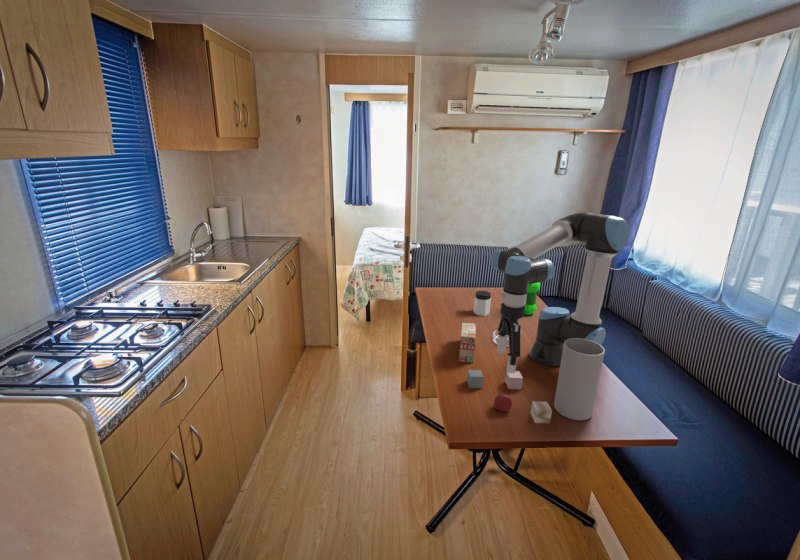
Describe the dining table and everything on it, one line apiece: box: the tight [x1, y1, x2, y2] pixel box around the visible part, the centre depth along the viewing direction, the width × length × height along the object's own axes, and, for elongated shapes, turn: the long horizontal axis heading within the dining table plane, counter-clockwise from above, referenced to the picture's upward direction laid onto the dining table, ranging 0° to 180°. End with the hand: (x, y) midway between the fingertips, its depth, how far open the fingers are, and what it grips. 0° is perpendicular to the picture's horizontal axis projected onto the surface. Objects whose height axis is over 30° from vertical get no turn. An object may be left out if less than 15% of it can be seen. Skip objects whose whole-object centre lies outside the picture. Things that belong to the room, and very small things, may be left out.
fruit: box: [493, 387, 513, 413], centre depth 144 cm, size 6×6×8 cm
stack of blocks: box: [458, 322, 477, 364], centre depth 182 cm, size 21×6×12 cm, turn 170°
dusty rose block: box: [504, 370, 524, 390], centre depth 157 cm, size 5×5×5 cm
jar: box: [472, 290, 492, 317], centre depth 226 cm, size 9×8×12 cm
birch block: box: [530, 400, 553, 424], centre depth 138 cm, size 5×5×5 cm
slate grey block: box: [466, 369, 484, 389], centre depth 157 cm, size 5×5×5 cm
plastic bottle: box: [524, 282, 541, 316], centre depth 226 cm, size 10×10×25 cm
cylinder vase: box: [553, 338, 606, 421], centre depth 140 cm, size 12×12×25 cm
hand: (505, 362), depth 139 cm, fingers open, 13 cm apart
